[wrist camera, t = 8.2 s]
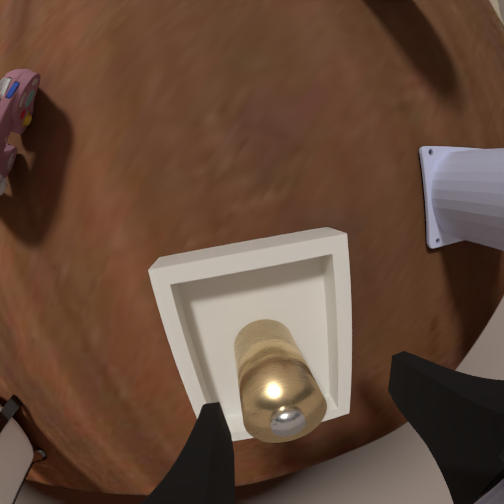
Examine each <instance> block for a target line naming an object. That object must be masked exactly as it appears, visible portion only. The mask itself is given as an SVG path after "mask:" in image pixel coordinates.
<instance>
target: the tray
mask: <svg viewBox="0 0 504 504" xmlns="http://www.w3.org/2000/svg"><path fill="white" fill-rule="evenodd" d="M148 271H149V275H150V279H151V283H152V287H153V290H154V294H155V298H156V301H157V305H158V308H159V312H160V315H161V319H162V322H163V325H164V328H165V332H166V335H167V338H168V341H169V344H170V347H171V350H172V353H173V356H174V359H175V362H176V365H177V367H178V370H179V373H180V376H181V379H182V381H183V384H184V387H185V389H186V392H187V394H188V397H189V399H190V402H191V404H192V407H193V409H194V412H195V414H196V417H197V419H198V416H199V413H200V411H201V408H202V406H203V405H204V404H207V403H215V402H220V405H221V407H222V410H223V413H224V416H225V419H226V421H227V424H228V427H229V430H230V432H231V437H232V441H236V440H243V439H249V438H254V437H252V436H251V435H250V434H249V433H248V432H247V431H246V429H245V427H244V423H243V416H242V409H241V402H240V394H239V386H238V379H237V371H236V362H235V354H234V341H235V338H236V336H237V334H238V333H239V332H240V330H241V329H242V328H243V327H245V326H246V325H248V324H249V323H251V322H254V321H257V320H262V319H270V320H275V321H278V322H280V323H282V324H284V325H285V326H286V327H287V328H288V329H289V331H290V332H291V334H292V336H293V338H294V340H295V342H296V344H297V346H298V348H299V350H300V352H301V354H302V355H303V357H304V359H305V361H306V363H307V365H308V367H309V369H310V371H311V373H312V375H313V377H314V379H315V381H316V382H317V384H318V386H319V388H320V390H321V392H322V394H323V396H324V398H325V400H326V403H327V411H326V414H325V416H324V418H323V420H322V421H321V422H323V421H326V420H329V419H333V418H336V417H339V416H342V415H345V414H348V413H349V410H350V394H351V368H352V311H351V284H350V267H349V253H348V241H347V233H344V232H341V231H338V230H335V229H332V228H329V227H324V228H318V229H312V230H306V231H301V232H295V233H289V234H284V235H278V236H272V237H267V238H261V239H255V240H250V241H244V242H239V243H233V244H228V245H222V246H217V247H212V248H206V249H201V250H196V251H190V252H185V253H180V254H174V255H169V256H164V257H159V258H158V259H157V260H156V262H155V263H154V264H153V265H152V266H151V267H150V268H149V270H148Z"/></svg>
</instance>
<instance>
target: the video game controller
mask: <svg viewBox="0 0 504 504" xmlns="http://www.w3.org/2000/svg"><path fill="white" fill-rule="evenodd" d="M39 83H40V74H38V73H36V72H33V71H31V70H30V69H16V70H13V71H11V72H9V73H7V74H6V75H5V76H4V77H3V79H1V80H0V195H2V194H3V193H4V192H5V190H6V187H7V178H6V177H7V176H8V174H9V173H10V171H11V169H12V166H13V164H14V161H15V158H16V154H17V148H16V147H14V146H12V145H10V144H8V143H7V140H8V137H9V134H10V132H11V131H12V132H15V133H18V134H22V133H23V132H24V130H25V129H26V127H27V126H28V125H29V124H30V122H31V120H32V112H33V103H34V99H35V96H36V93H37V90H38V87H39Z"/></svg>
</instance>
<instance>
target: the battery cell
mask: <svg viewBox="0 0 504 504" xmlns="http://www.w3.org/2000/svg"><path fill="white" fill-rule="evenodd" d="M234 354H235V362H236V371H237V379H238V386H239V394H240V402H241V409H242V416H243V423H244V427H245V429H246V431H247V432H248V433H249V434H250V435H251V436H252V437H254V438H256V439H258V440H261V441H264V442H271V443H280V442H287V441H292V440H295V439H298V438H300V437H302V436H304V435H306V434H308V433H310V432H311V431H312V430H314V429H315V428H316V427H317V426H318V425H319V424H320V423H321V421H322V420H323V418H324V416H325V414H326V411H327V403H326V400H325V398H324V396H323V394H322V392H321V390H320V388H319V386H318V384H317V382H316V381H315V379H314V377H313V375H312V373H311V371H310V369H309V367H308V365H307V363H306V361H305V359H304V357H303V355H302V354H301V352H300V350H299V348H298V346H297V344H296V342H295V340H294V338H293V336H292V334H291V332H290V331H289V329H288V328H287V327H286V326H285V325H284V324H282V323H280V322H278V321H275V320H270V319H262V320H257V321H254V322H251V323H249V324H248V325H246V326H245V327H243V328H242V329H241V330H240V332H239V333H238V334H237V336H236V338H235V341H234Z"/></svg>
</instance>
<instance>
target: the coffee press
mask: <svg viewBox="0 0 504 504" xmlns="http://www.w3.org/2000/svg"><path fill="white" fill-rule="evenodd" d="M20 406H21V403H20V402H19V400H18V399H17V398H16V397H15V396H14V395H13V396H12V397H11V398H10V399H9V400H8V402H7V403H6V404H5V405H4V406H3V407H2V406H1V405H0V504H14V503H15V501H16V499H17V496H18V494H19V492H20V490H21V487H22V485H23V483H24V481H25V479H26V477H27V475H28V473H29V471H30V469H31V467H32V465H33V464H34V463H36V462H41V461H43V460H45V459H46V458H47V456H46V453H45V452H44V451H43V450H41V449H32V446H31V443H30V441H29V439H28V437H27V436H26V434H25V433H24V431H23V430H22V428H21V427H20V426H19V424H18V423H17V422H16V421H15V419H14V418H13V417H12V416H13V415H14V413H15V412H16V411H17V410H18V408H19V407H20ZM33 452H39V453H40V454H41V455H42V460H38V461H35V462H32V459H33ZM31 462H32V463H31Z"/></svg>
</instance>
